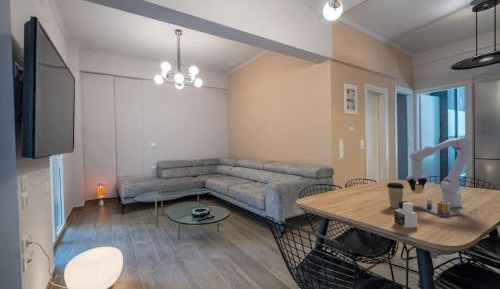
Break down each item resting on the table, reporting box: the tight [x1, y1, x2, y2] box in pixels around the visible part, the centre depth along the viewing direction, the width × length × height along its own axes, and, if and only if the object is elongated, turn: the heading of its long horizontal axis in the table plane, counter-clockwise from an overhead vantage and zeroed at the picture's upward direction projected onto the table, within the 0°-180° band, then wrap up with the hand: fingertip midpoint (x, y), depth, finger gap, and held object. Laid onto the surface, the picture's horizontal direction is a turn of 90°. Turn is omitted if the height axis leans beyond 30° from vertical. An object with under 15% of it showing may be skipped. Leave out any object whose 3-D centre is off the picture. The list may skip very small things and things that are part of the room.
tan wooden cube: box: [411, 183, 423, 194], centre depth 153 cm, size 6×6×6 cm
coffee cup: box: [386, 182, 405, 209], centre depth 148 cm, size 9×9×15 cm
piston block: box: [413, 198, 462, 218], centre depth 138 cm, size 12×18×6 cm, turn 9°
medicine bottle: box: [393, 200, 419, 229], centre depth 117 cm, size 7×7×12 cm
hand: (417, 190), depth 153 cm, fingers closed on tan wooden cube, 6 cm apart
